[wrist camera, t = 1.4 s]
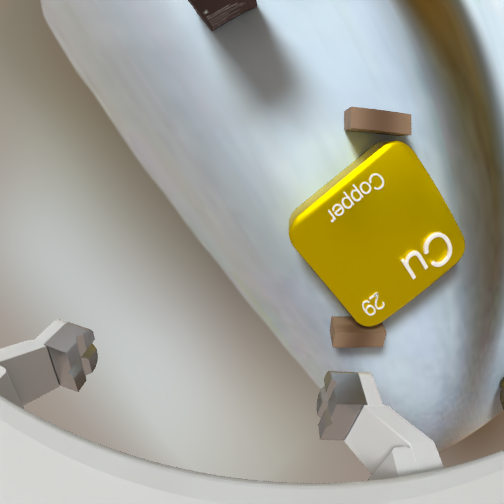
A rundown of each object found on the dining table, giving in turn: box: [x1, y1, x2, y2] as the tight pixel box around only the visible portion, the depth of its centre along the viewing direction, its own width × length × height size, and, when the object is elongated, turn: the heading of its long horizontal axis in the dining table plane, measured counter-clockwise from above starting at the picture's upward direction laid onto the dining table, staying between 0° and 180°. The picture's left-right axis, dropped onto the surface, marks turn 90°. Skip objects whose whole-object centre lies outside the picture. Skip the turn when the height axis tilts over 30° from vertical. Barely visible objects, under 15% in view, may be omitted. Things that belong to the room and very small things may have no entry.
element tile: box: [289, 141, 465, 327], centre depth 29 cm, size 15×15×5 cm
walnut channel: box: [330, 107, 411, 347], centre depth 29 cm, size 6×25×4 cm, turn 0°
